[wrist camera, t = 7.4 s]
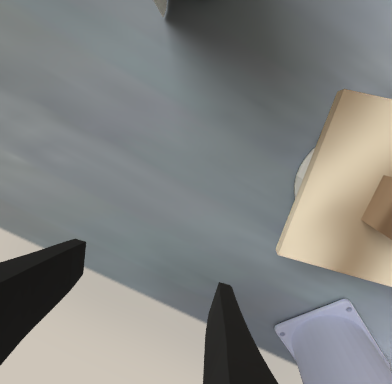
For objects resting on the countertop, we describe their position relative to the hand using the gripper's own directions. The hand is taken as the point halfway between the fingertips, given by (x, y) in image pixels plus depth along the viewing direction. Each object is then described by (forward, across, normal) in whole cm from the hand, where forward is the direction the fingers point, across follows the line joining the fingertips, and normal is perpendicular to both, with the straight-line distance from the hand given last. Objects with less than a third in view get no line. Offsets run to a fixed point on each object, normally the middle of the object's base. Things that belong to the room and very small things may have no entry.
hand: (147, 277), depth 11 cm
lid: (+6, -13, -6) cm, 16 cm away
